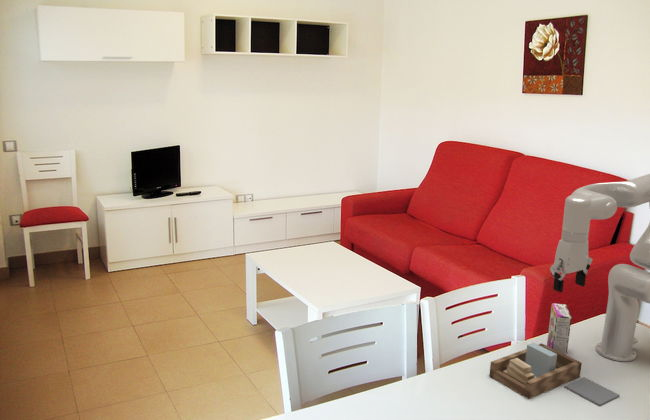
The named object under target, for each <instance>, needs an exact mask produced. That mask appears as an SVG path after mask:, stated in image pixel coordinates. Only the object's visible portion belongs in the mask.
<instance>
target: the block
mask: <svg viewBox="0 0 650 420" xmlns="http://www.w3.org/2000/svg"><path fill="white" fill-rule="evenodd" d="M526 349H527V350H526V359H525V363H526V364H528V365H530V366H531V373H532V374H534V377H535V378H536V377H538V376H541V375H543V374H546V373H548V372H551V371H553V370H555V369H556V368H555V367H556V360H557V354H556V353H554V352H552V351H550V350H548V349H546V348H543V347H541V346H539V344H538V343H535V342H531V343H529V344H526Z"/></svg>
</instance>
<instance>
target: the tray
mask: <svg viewBox="0 0 650 420" xmlns="http://www.w3.org/2000/svg"><path fill="white" fill-rule="evenodd" d="M538 345H539V346H541V347H543V348H546V349H548V350H550V351H552V352H554V353H556V354H557V360H556V367H555V370H553V371H551V372H548V373H546V374H543V375H541V376H538V377H536V376H535V377H534V378H533V379H531V380H528V381H526V386H525V385H523V384H522V383H520V382H518V381H516V380H515V379H513V378H511V377H509V376H507V375H506V374H504V373H503V371H505V370H507V366H508V365H509V363H510V360H511V359H515V358H518V359H520V360H521V361H523V362H525V359H526V350H527V348H525V349H523V350H520V351H517V352H514V353H512V354H509V355H506V356H503V357H500V358H497V359H495V360H491V361H490V365H489V374H488V375H489V377H490V378H491V379H493V380H494V381H496V382H498V383H500V384H502V385H504V386H506V387H507V388H509V389H511V390H513V392H516V393H517V394H520V395H521V396H522V397H524V398H526V399H527V400H529V399H532V398H534V397H538V396H540V395H541V394H543V393H546V392H548V391H550V390H553V389H555V388H557V387H559V386H563V385H564V384H565V385H566V384H568V383H570V382H571V381H572V382H573V381H574V380H576V379H580V376H581V370H582V364H583V363H582V362H581V361H579V360H576V359H575V358H573V357H571V356H569V355H568V354H567V355H565V354H562V353H560V352H558V351H556V350H554V349H552V348H550V347H548V346H547V344H544V343H539V344H538Z"/></svg>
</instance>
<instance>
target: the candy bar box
mask: <svg viewBox="0 0 650 420" xmlns="http://www.w3.org/2000/svg"><path fill="white" fill-rule="evenodd" d="M569 311H570V310H569V309H568V306H567V304H564V303H556V302H554V303H551V308H550V316H549V317H550V318H549V325H548V334H547V342H546V346H548V347H550V348H552V349H554V350H556V351H558V352H560V353H562V354H565V355H567V356H568V349H569V348H568V347H569V339H570V332H571V326H572V325H571V324H572V316H571V313H570V312H569Z"/></svg>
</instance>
